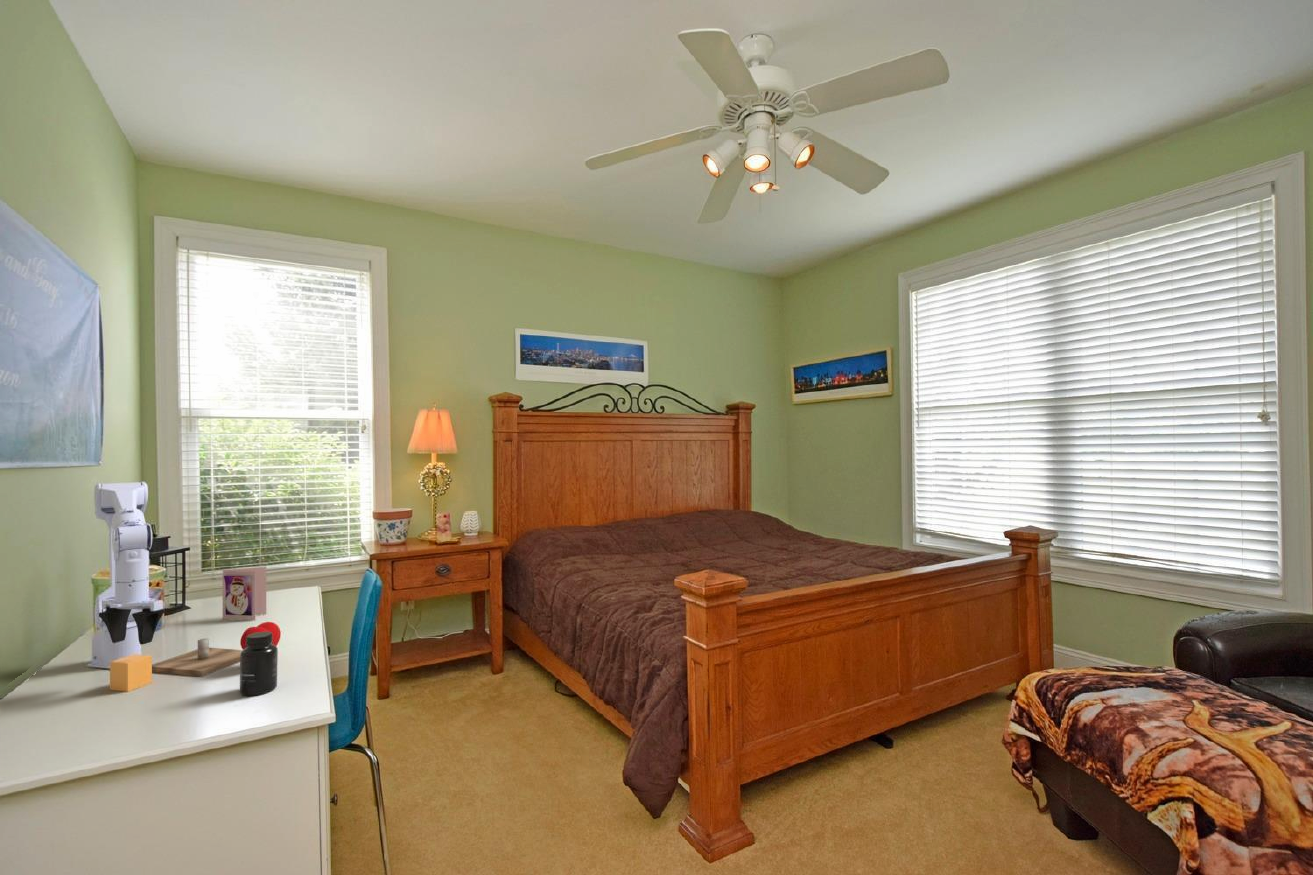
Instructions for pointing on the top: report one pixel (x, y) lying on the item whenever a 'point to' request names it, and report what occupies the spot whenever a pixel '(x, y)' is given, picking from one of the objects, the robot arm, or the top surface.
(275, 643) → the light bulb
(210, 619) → the top surface
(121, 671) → the orange wooden cube
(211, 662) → the post board
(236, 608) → the greeting card
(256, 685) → the supplement bottle
